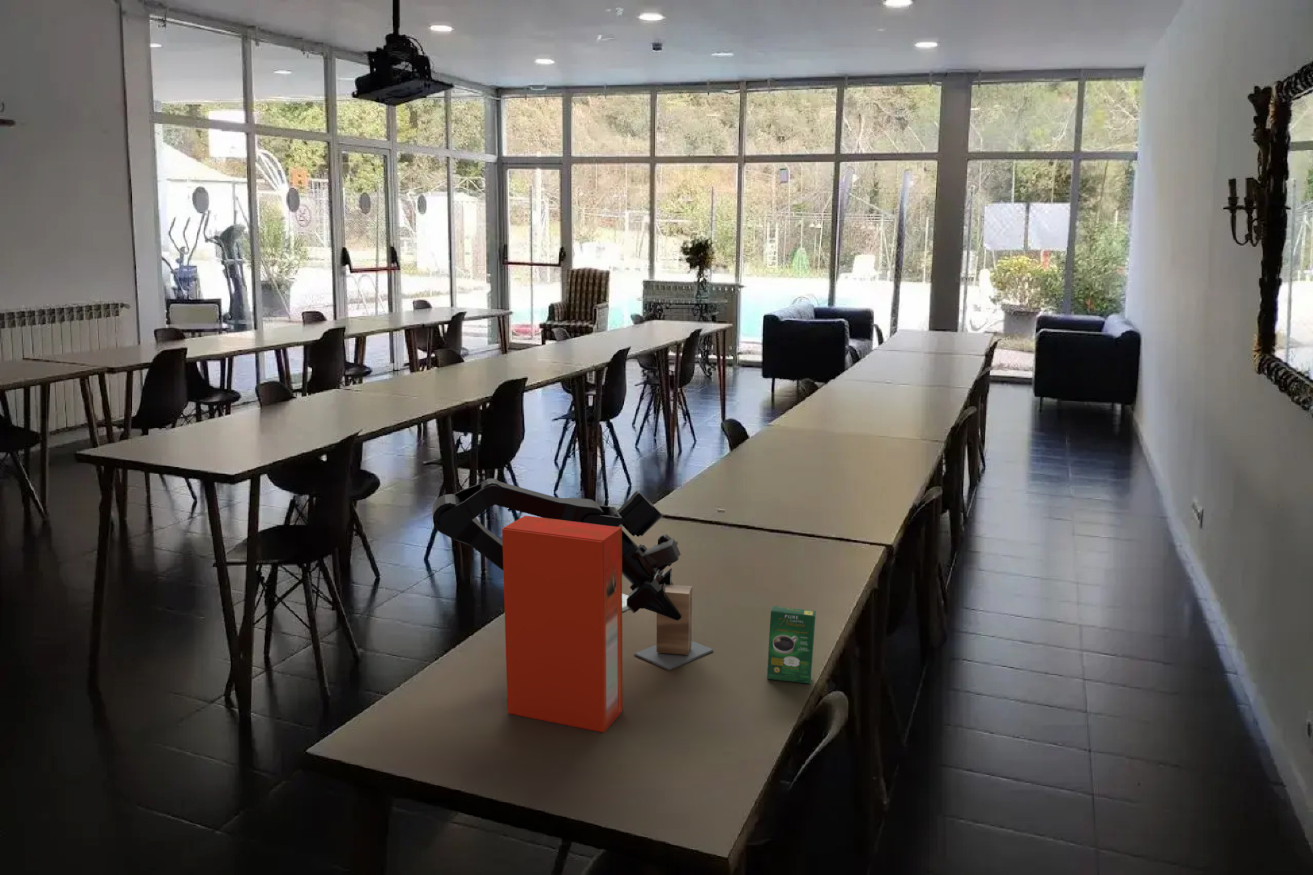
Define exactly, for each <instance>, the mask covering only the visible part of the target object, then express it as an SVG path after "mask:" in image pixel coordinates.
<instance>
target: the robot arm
mask: <svg viewBox="0 0 1313 875" xmlns="http://www.w3.org/2000/svg"><path fill="white" fill-rule="evenodd" d="M494 506H499V507H501V508H506V509H509V510H514V511H517V512H520V513H524V514H527V515H530V516H534V517H541V518H549V519H558V520H566V521H574V522H582V523H590V524H598V525H606V526H614V527H620V526H623V528H624V529H625V530H626V531H627V532H628V533H629V534H630V535H631V536H632V537H635V536H636V537H638V538H640V537H643V536H644V535H645V534H646V533H647V532H648V531H649V530H650V529H652V527H654V526H655V524H656V523H658V522H659V521H660V519H662V518H663V517H664V515H663V514H662V513H661V512H660V510H658V508H657V507H656V506H655V505H654V504H653V502H652V501H651V500H650V499H649V498H646V497H645V496H644V495H643V494H642V493H641V492H640V491H639V490H636V491H634V493H633V494H632V495H631V496H630V497H629V498H628V499H627V501H626V502H625V503H624V504H622V506H620V508H618V509H617V508H616V507H615V506H608V505H601V504H599V503H598V502H597V501H594V500H593V499H590V498H581V497H557V496H553V495H549V494H545V493H542V492H539V491H534V490H531V489H527V488H525V487H524V488H523V487H520V486H517V485H512V484H509V483H507V482H506V483H505V482H502V481H499V480H498V479H496V478H487V479H485V480H484V481H481V482H480V483H477V484H474V485H472V486H470V487H467V488H463V489H461V490H459V491H458V492H455V493H450V494H449V493H448V494H442V495H440V496H439V497H438V498H437V499H436V500H435V501H434V502H433V504H432V509H431V510H432V523H433V526H434V528H435V530H436V531H438V532H439V533H441V534H442V535H445V536H447V537H448V538H450V539H452V540H454V541H457V542H459V543H463V544H465V545H468V546H470V547H471V548H473V549H474V550H475V551H477V552H478V553H479V554H481V555H482V556H483V557H484V558H486V559H488V561H490V562H491V563H492V564H494V566H496V567H497V568H499V570H501V571H503V541H502V539H500V538H499V537H498V536H496V535H495V534H494V533H493V532H491V530H489V529H488V528H486V527H485V526H484V525H483V524H482V523H481V522H480V521H479V519H478V518H477V517H479V516H480V515H481V514H483V512H486V510H488V509H490V508H491V507H494ZM678 545H679V542H678V541H676V540H675V538H674V537H670V535H668V534H667V533H665V534H663V535H660V536H659V537H658V538H657V544H655V545H653V546H652V547H650V548H648V547H646V546H645V545H644V544H639V545H638V544H636V542H634V541H633V539H632V538H631V537H630V536H629V535H628V534H627V533H626V532H625V531H624V530H623V529H622V577H624V578H625V579H626V580H627V581H628V582H629V583H630V584H631V585H630V586H629V589H631V592H630V593H629V595H628V598H627V607H628V608H629V609H628V610H630V611H631V612H632V614H636V612H638V611H639V610H642V609H645V610H647V611H650V612H653V613H656V614H657V613H659V614H661V615H664V616H667V617H669V618H672V619H674V620H677V621H678V620H679V619H680V618H681V615H680V613H679V612H678V610H677V609H676V607H675V606H674V605H673V603H672V602H671V601H670V599H669V598H668V597H667V595H666V593H665V584H667V585H674V583H673V581H672V580H673V579H672V576H673V567H671V566H672V565H673V563H676V562H678V561H679V557H681V554H682V553H681V552H680V550H679V547H678ZM667 567H671V568H669V570H667V571H666V570H665V569H666V568H667ZM660 584H663V585H662V586H660Z"/></svg>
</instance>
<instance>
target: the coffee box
mask: <svg viewBox="0 0 1313 875" xmlns="http://www.w3.org/2000/svg"><path fill="white" fill-rule="evenodd" d="M815 626H816V610H810V609H803V608H794V607H793V608H792V607H785V606H777V605H776V606H775V605H772V607H771V610H770V621H769V632H768V633H769V635H768V636H769V637H768V654H767V655H768V656H767V671H766V672H767V674H766V679H768V680H775V681H782V682H783V681H784V682H793V683H798V684H808V685H809V684H810V685H811V684H812V674H813V673H812V672H813V658H814V644H815V628H816V627H815Z"/></svg>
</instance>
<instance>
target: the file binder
mask: <svg viewBox="0 0 1313 875" xmlns="http://www.w3.org/2000/svg"><path fill="white" fill-rule="evenodd" d="M622 530H623V528H622V526H621V527H620V526H619V527H614V526H606V525H598V524H590V523H582V522H574V521H566V520H558V519H549V518H542V517H538V516H534V515H523V516H522V517H520V518H518V519H516V520H515V521H513V522H511V523H510V524H508V525H506V526H504V527H503V528H502V529H501V533H502V537H501V538H502V539H501V540H502V541H503V570H502V571H503V572H502V573H503V597H504V598H503V599H504V600H503V601H504V603H503V604H504V634H505V664H506V666H505V667H506V671H505V672H506V673H505V674H506V697H507V698H506V699H507V700H506V702H507V713H508V714H509V715H515V716H519V717H525V718H530V719H534V720H538V721H544V722H550V723H555V724H559V725H564V726H569V727H573V728H577V729H583V730H589V731H594V732H599V733H605V732H606V731H607V730H608V728H610V726H611V725H612V724H613V723H614V722H615V720H617V719H618V717H619V716H620V715H621V714H622V711H623V710H624V709H623V708H624V707H623V706H624V705H623V702H624V701H623V696H624V695H623V612H622V594H623V575H622Z"/></svg>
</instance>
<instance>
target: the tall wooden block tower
mask: <svg viewBox="0 0 1313 875" xmlns="http://www.w3.org/2000/svg"><path fill="white" fill-rule="evenodd" d="M662 585H663V584H660V586H662ZM665 593H666V595H667V597H668V598H669V599H670V601H671V602H672V603H673V605H674V606H675V607H676V609H677V610H678V612H679V613H680V615H681V618H680V619H679V620H678V621H677V620H674V619H672V618H669V617H667V616H664V615H661V614H659V613H656V645H657V652H659V653H671V654H683V655H688V654H689V652H690V649H691V646H692V641H693V640H692V639H693V638H692V636H693V633H692V632H693V630H692V628H693V626H692V624H693V586H692V585H679V584H678V585H677V584H673V585H667V584H665Z"/></svg>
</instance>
